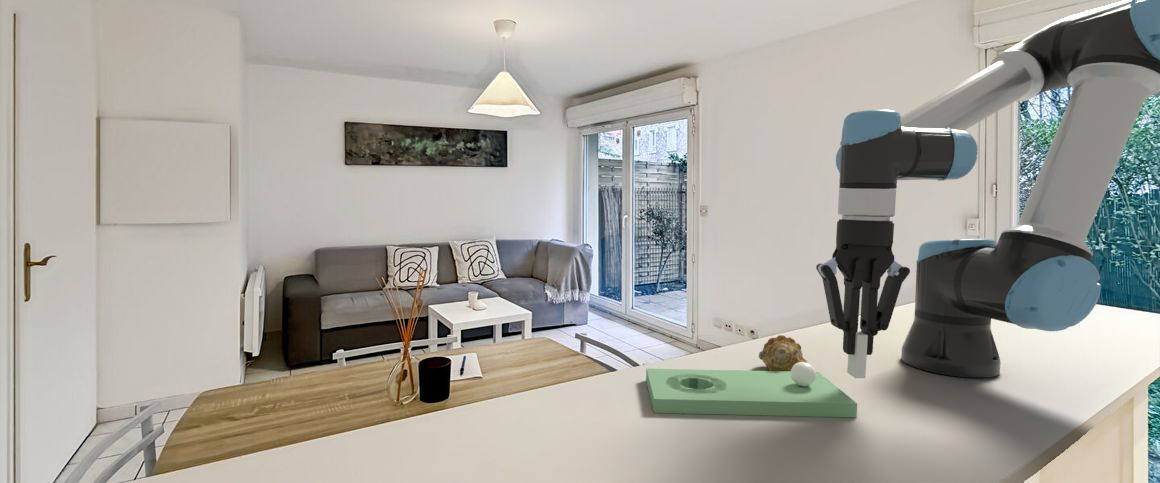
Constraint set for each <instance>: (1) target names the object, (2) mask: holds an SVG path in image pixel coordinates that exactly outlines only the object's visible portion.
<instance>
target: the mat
mask: <svg viewBox="0 0 1160 483" xmlns="http://www.w3.org/2000/svg"><path fill="white" fill-rule="evenodd" d="M645 370H646V371H645V373H646V374H645V382H646V386H647V390H648V394H649V398H650V403H651V406H653V407H652V409H653V410H654V411H653V413H654V412H655V413H654V414H683V413H684V414H689V415H690V414H691V415H693V414H694V415H732V416H733V415H734V416H735V415H736V416H773V417H775V416H777V417H780V416H781V417H818V418H824V417H825V418H857V414H858V403H857V402H856V401H855V400H854V399H852V397H850V396H849V395H848V394H846V393H845V392H844V391H843V390H841V389H840V388H839V387H838V386H837V385H835V384H834V383H833V382H831V381H830V380H829V379H828V378H827V377H825V375H824V374H822V373H820V371H816V379H815V381H814V382H813V383H812V384H811V385H809V386H799V385H797V384H796V383H795V382H794V381H793V380H792V378H791V371H770V370H736V369H735V370H732V369H692V368H691V369H686V368H684V369H683V368H678V369H677V368H645Z"/></svg>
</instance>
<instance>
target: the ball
mask: <svg viewBox="0 0 1160 483" xmlns="http://www.w3.org/2000/svg"><path fill="white" fill-rule="evenodd" d="M816 372H817V371H816V369H815V368H814V366H813V365H812V364H810V363H809V362H808V363H806V362H799V363H796V364H795V365H794V366H793V367H792V369H791V378H792V380H793V381H794V382H795V383H796V384H797V385H799V386H809V385H811V384H812V383H813V382H814V381H815V379H816Z"/></svg>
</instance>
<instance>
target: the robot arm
mask: <svg viewBox="0 0 1160 483" xmlns="http://www.w3.org/2000/svg"><path fill="white" fill-rule="evenodd" d="M993 58H994V59H992V62H990V65H989V66H988V67H986V68H984V69H982V70H980V71H979V72H976V73H975V74H973V75H972V76H970V77H968V78H966V79H965V80H963V81H961V82H960V83H957V84H956V85H954V86H953V87H951V88H949V89H947V90H946V91H944V92H942V93H940V94H938V95H937V96H935V97H933V98H932V99H930V100H927V101H925V103H923V104H922V105H920V106H917V107H916V108H914V109H913V110H911V111H909V112H907V113H905V114H904V115H902V116H901V114H900V112H898V111H896V110H892V109H868V110H866V109H865V110H859V111H854V112H851V113H849V114H848V115H846V117H845V118H844V120H843V125H842V131H841V140H840V143H839V144H840V147H839V148H838V150H837V152H836V154H835V155H836V156H835V165H836V169H837V170H838V173H839V189H838V200H837V201H838V204H837V215H839V216H841V218H839V219H838V221H837V222H836V235H835V236H836V238H835V245H836V246H835V249H834V252H833V253H832V255H831V257H832V258H831V259H829V260H827V261H826V262H824V263H817V264H816V267H815V268H816V271H817V272H818V274H819V276H820V277H821V279H822V283H823V288H824V292H825V293H824V294H825V299H826V305H827V310H828V314H829V320H830V324H831V326H833V327H834V328H837V329H839V330H842V332H843V338H842V340H843V341H842V350H843V353H845V354H847V368H846V370H847V371H846V372H847V374H849V375H850V376H851V377H853V378H854V379H866V373H867V372H866V370H867V358H868V356H872V354H873V353H874V339H875V338H874V337H876V336H878V333H879V332H880V331H883V332H885V331H886V330H888V329H889V327H890V326H889V325H890V323H891V319H892V316H893V313H894V310H895V306H896V305H897V300H898V297H899V294H900V292H901V288H902V284H903V282H904V281H905V280H906V279H907V278H908V276H909V275H910V273H911V270H910V268H909V267H908V266H904V265H901V264H900V263H898V261H896V260H895V255H894V253H893V249H892V247H893V244H894V233H895V223H894V222H893V220H891V218H893V217H895V215H896V200H897V199H896V198H897V187H898V185H897V184H898V181H917V180H919V181H921V180H925V181H926V180H933V181H935V180H937V181H949V180H959V179H962V178H964V177H966V176H967V175H968V174H969V173H970V172H971V171H972V170H973V169H974V166H975V165H976V163H977V160H978V144H977V141H976V139H975V138H974V136H973V135H972V134H971V133H970V132H968V131H966V130H969V129H970V128H972V127H973V126H975V125H978V123H980V122H982V121H984V120H985V119H987V118H988V117H990V116H992V115H993V114H996V113H997V112H999V111H1001V110H1002V109H1004V108H1006V107H1008V106H1010V105H1011V104H1013V103H1014V102H1015V103H1016V102H1025V101H1026V102H1027V101H1029V100H1031V99H1033V98H1035V97H1036V96H1038V95H1041V94H1042V93H1043V94H1044V93H1046V92H1047V91H1048V92H1049V91H1053V90H1057V89H1061V88H1065V87H1071V89H1073V91H1072V94H1071V96H1070V99H1069V101H1068V104H1067V106H1066V109H1065V110H1064V112H1063V115H1062V117H1061V120H1060V123H1059V124H1058V127H1057V129H1056V131H1055V135H1054V136H1053V139H1052V142H1051V144H1050V146H1049V149H1048V151H1047V153H1046V155H1045V157H1044V160H1043V163H1042V165H1041V168H1040V170H1039V171H1038V175H1037V177H1036V179H1035V182H1034V185H1033V187H1032V189H1031V192H1030V193H1029V196H1028V198H1027V200H1026V203H1025V206H1024V208H1023V210H1022V213H1021V215H1020V218H1019V219H1018V223H1017V224H1016V225H1015V226H1013V227H1010V228H1007V229H1004V230H1003V231H1001V234H1000V236H999V239H998V240H997V241H996V240H995V239H993V238H964V239H963V238H962V239H961V238H960V239H958V238H957V239H937V240H935V239H934V240H927V241H924V242H923V243H922V244H921V245H920V246H919V249H918V256H917V259H916V273H915V274H916V275H915V277H916V278H915V295H914V297H915V299H914V300H915V301H914V302H915V303H914V315H913V316H914V317H913V322H912V324H911V326H910V327H909V328H910V329H909V331H908V333H907V335H906V337H905V340H904V342H903V344H902V346H901V356H900V359H901V361H902V362H903V363H905V364H906V365H908V366H910V367H913V368H915V369H919V370H922V371H925V372H929V373H935V374H940V375H944V376H945V375H946V376H952V377H960V378H971V379H972V378H973V379H974V378H975V379H977V378H978V379H979V378H982V379H983V378H993V377H997V376H999V375H1000V374H1001V364H1002V362H1001V358H1000V354H999V351H998V348H997V345H996V340H995V339H994V335H993V332H992V328H991V327H992V320H996V321H1000V322H1004V323H1007V324H1012V325H1016V326H1018V327H1020V328H1023V329H1030V330H1038V331H1039V330H1040V331H1045V332H1059V331H1064V330H1068V328H1071V327H1074V326H1076V325H1078V324H1080V323H1081V322H1082V321H1083V320H1085V319H1086V318H1087V317H1088V316H1089V315H1090V314H1091V312H1092V311H1093V310H1094V308H1095V307H1096V305H1097V303H1098V300H1099V299H1100V295H1101V290H1102V285H1101V284H1100V283H1099V281H1100V280H1101V276H1100V272H1099V271H1098V269H1097V267H1096V266H1095V265H1094V264H1093V263H1091V261H1092V259H1093V256H1094V254H1093V252H1092V251H1091V249H1090V247H1089V246H1088V245H1087V243H1086V240H1087V237H1088V234H1089V232H1090V230H1091V228H1092V225H1093V223H1094V222H1095V218H1096V216H1097V213H1098V211H1099V208H1100V206H1101V203H1102V202H1103V199H1104V197H1105V194H1106V192H1107V190H1108V187H1109V186H1110V185H1109V184H1110V183H1111V180H1112V178H1113V175H1114V173H1115V170H1116V168H1117V166H1118V163H1119V161H1120V159H1121V157H1122V154H1123V153H1124V152H1123V151H1124V149H1125V148H1126V145H1127V142H1128V140H1129V138H1130V135H1131V133H1132V130H1133V128H1134V126H1135V123H1136V121H1137V119H1138V117H1139V114H1140V111H1141V109H1142V106H1143V104H1144V102H1145V99H1148V98H1149V97H1151V96H1154V95H1156V94H1159V93H1160V0H1122V1H1118V2H1114V3H1111V4H1108V5H1105V6H1101V7H1097V8H1093V9H1090V10H1089V9H1088V10H1085V11H1084V12H1083V11H1082V12H1080V13H1075V14H1072V15H1068V16H1066V17H1064V18H1061V19H1059V20H1057V21H1055V22H1052V23H1050V24H1049V25H1046V26H1045V27H1043V28H1041V29H1039V30H1038V31H1036V32H1034V33H1032V34H1031V35H1030V36H1027V37H1026V38H1024V39H1022V40H1020V41H1019V42H1018V43H1016V44H1013V45H1012V46H1010V47H1009V48H1006V49H1004V51H1002V52H1000V53H998V54H997V55H996V56H994V57H993ZM837 269H838V270H839V272H840V273H841V275H842V276H843V285H844V297H843V303H842V299H841V292H840V289H839V283H838V279H837V276H836V275H837V273H838V271H837ZM885 273H887V276H886V278H885V280H884V283H883V286H882V290H881V293H880V296H879V289H880V288H881V278H882V277H883V276H884V275H885ZM878 296H879V297H878ZM860 297H861V300H860ZM878 298H879V299H878ZM860 301H861V302H860ZM842 304H843V305H842ZM859 315H860V319H859ZM859 328H860V330H858V329H859Z"/></svg>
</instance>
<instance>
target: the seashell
mask: <svg viewBox="0 0 1160 483" xmlns="http://www.w3.org/2000/svg"><path fill="white" fill-rule="evenodd" d="M758 359H759V360H761V361H762V363H764V365H765V366H766V367H767V369H768V371H791V369H792V367H793V366H794V365H795V364H796V363H799V362H806V363H809V362H808V360H806V359H805V358H804V357H803V352H802V346H801V344H800V343H797V342H796V340H795V339H794V338H793V337H791V336H788V337H786V336H785V335H783V334H779V335H777V337H770V338H769V339H768V340H767V342H766V343H765V344H763V349H762V351H760V352H759V354H758Z"/></svg>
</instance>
